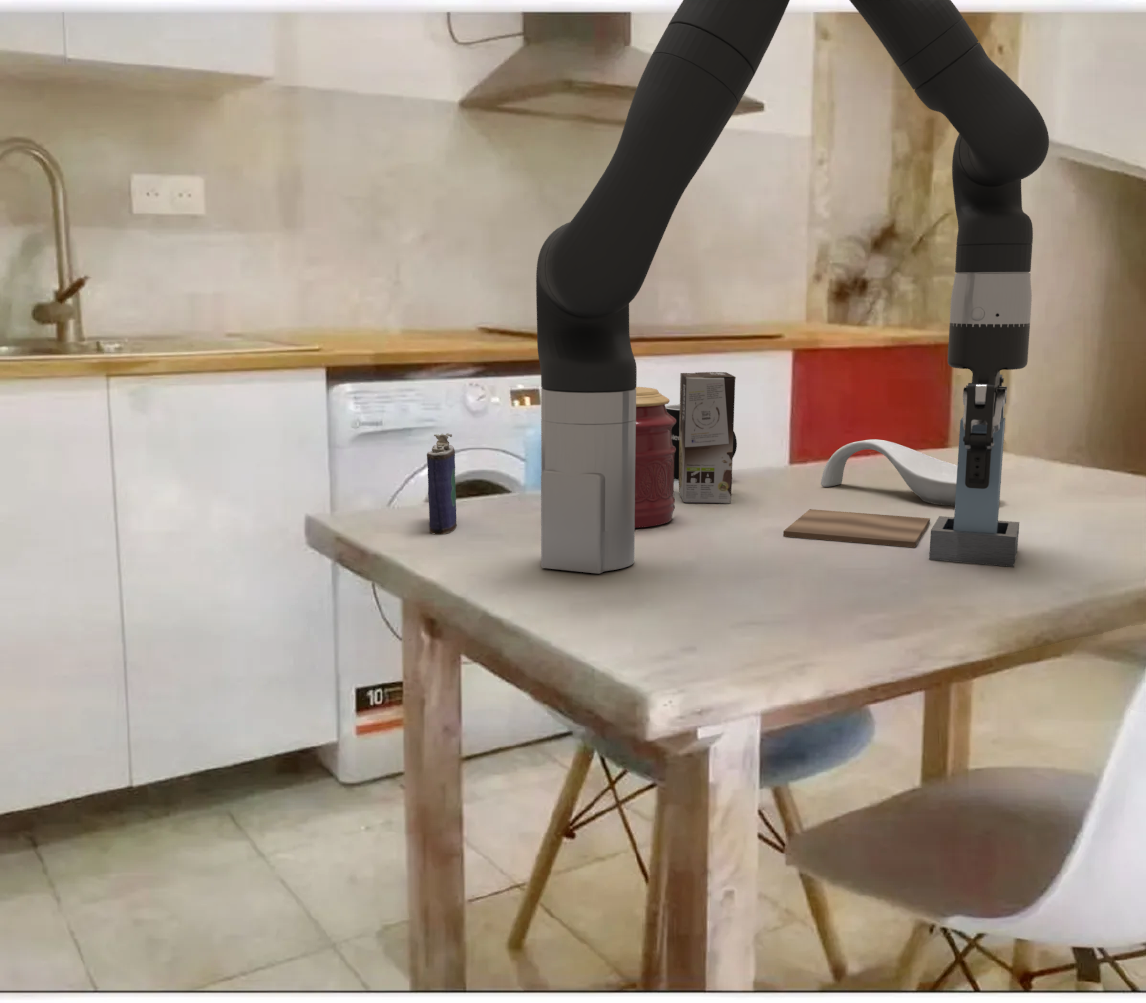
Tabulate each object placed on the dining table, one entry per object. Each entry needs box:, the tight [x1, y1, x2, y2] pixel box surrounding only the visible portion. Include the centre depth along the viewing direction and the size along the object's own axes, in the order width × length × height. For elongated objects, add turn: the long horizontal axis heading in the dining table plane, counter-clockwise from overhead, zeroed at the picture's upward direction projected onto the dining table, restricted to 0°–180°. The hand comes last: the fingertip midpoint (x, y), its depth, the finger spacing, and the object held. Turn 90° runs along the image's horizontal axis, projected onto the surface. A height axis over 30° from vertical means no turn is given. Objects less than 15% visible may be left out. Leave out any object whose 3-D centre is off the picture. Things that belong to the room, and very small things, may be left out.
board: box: [782, 508, 931, 549], centre depth 131 cm, size 14×14×1 cm
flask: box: [426, 432, 458, 535], centre depth 132 cm, size 9×3×11 cm, turn 1°
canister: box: [635, 386, 676, 529], centre depth 135 cm, size 13×13×18 cm
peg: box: [953, 417, 1006, 533], centre depth 118 cm, size 4×4×14 cm
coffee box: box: [678, 371, 737, 504], centre depth 150 cm, size 9×6×16 cm
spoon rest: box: [820, 438, 958, 506], centre depth 152 cm, size 24×12×7 cm, turn 49°
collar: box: [928, 515, 1020, 568], centre depth 119 cm, size 8×8×3 cm
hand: (980, 481), depth 118 cm, fingers open, 8 cm apart
